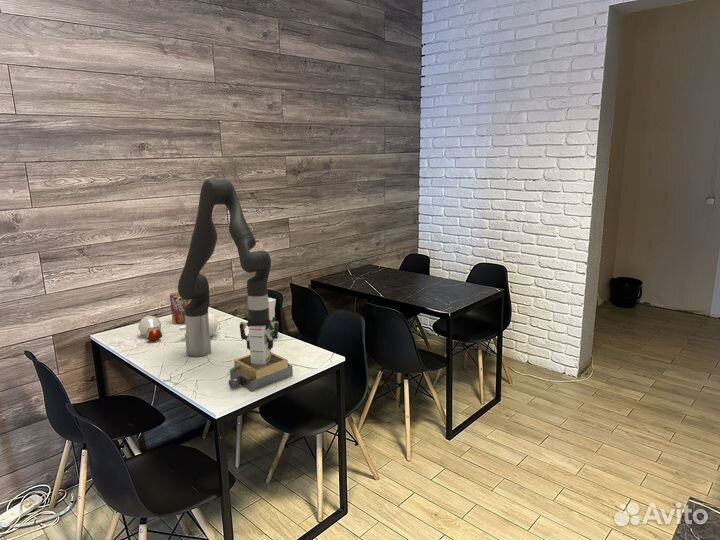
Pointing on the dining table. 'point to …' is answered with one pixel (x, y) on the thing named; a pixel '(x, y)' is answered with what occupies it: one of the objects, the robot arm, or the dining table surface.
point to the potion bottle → (150, 328)
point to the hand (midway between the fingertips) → (260, 349)
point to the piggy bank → (212, 323)
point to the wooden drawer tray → (259, 372)
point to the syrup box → (259, 345)
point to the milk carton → (272, 313)
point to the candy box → (178, 308)
